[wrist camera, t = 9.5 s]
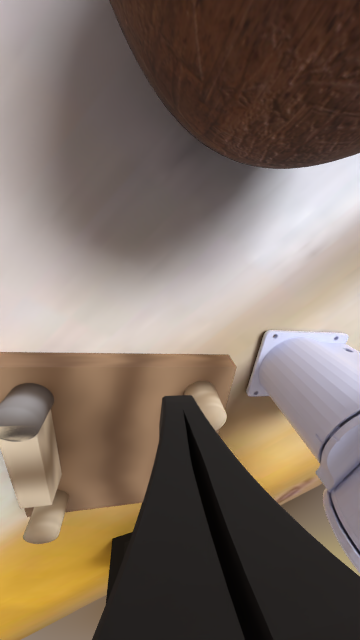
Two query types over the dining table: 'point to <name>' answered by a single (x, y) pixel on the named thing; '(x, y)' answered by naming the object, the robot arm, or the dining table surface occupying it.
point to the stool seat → (110, 420)
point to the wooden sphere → (254, 74)
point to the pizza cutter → (30, 444)
